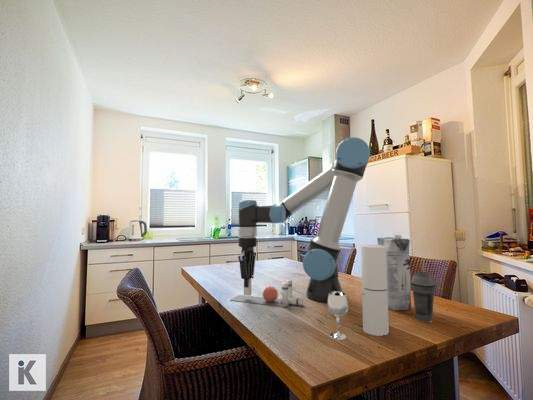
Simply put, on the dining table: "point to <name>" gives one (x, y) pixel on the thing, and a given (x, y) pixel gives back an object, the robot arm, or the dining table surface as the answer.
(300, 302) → the pin front
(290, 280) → the pin back right
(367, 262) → the cylindrical container
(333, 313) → the wineglass
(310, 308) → the dining table surface
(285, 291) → the pin back left
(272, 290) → the ball
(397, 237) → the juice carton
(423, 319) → the beverage cup
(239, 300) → the grey flat board
